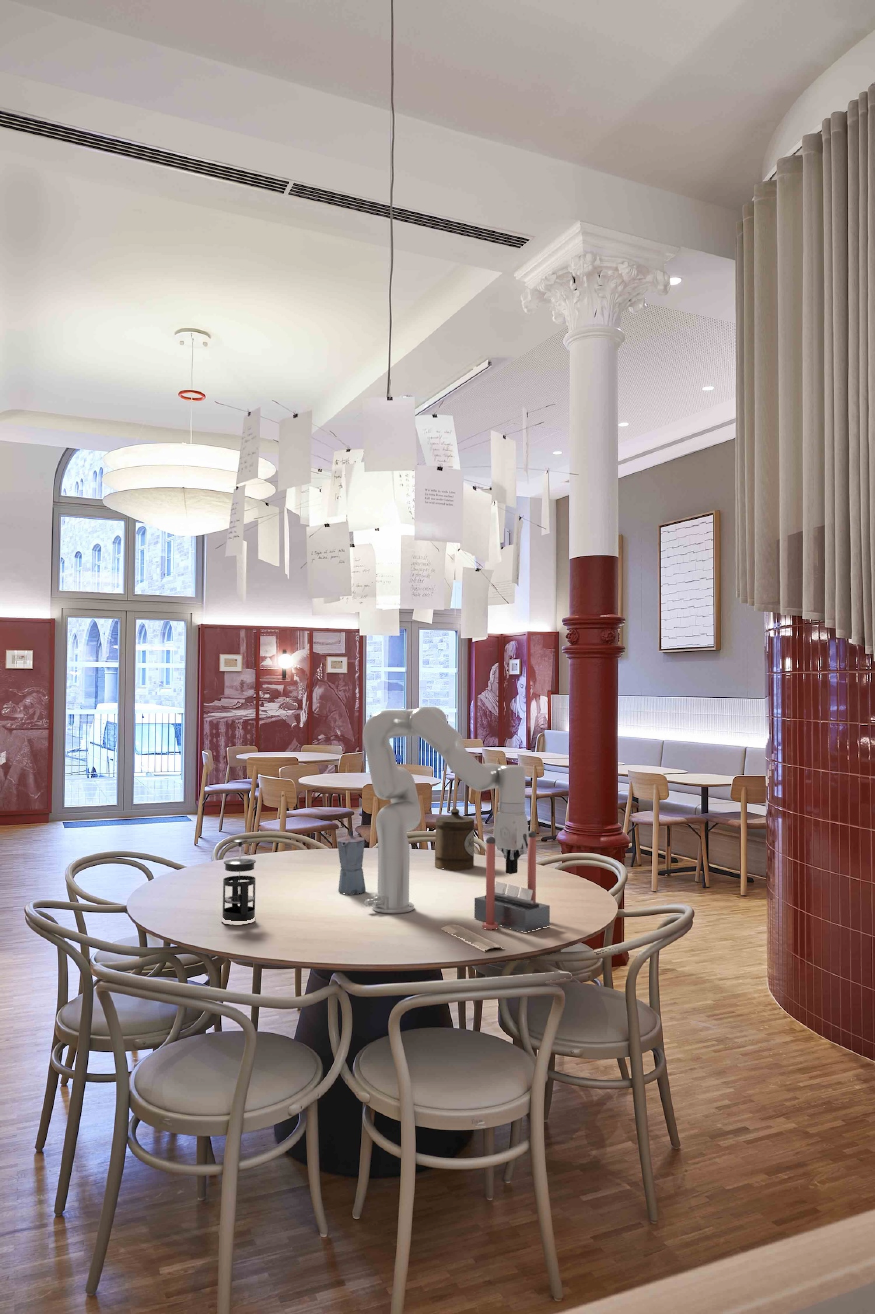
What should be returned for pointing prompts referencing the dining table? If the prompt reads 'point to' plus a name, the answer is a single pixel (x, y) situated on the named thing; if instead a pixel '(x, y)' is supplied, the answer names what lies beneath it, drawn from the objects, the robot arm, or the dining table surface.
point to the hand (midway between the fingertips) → (511, 872)
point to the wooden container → (454, 842)
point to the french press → (242, 898)
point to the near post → (490, 885)
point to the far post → (532, 864)
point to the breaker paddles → (513, 892)
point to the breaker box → (515, 913)
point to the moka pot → (351, 864)
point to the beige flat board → (470, 937)
